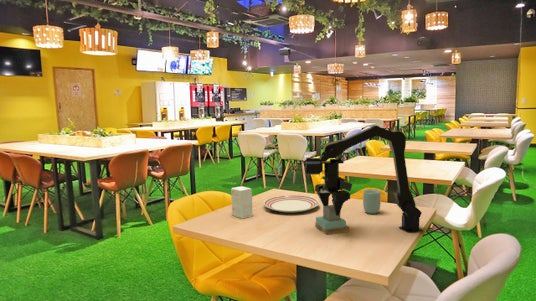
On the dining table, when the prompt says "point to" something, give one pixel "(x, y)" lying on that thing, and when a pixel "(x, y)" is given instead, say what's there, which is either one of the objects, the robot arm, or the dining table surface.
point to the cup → (371, 201)
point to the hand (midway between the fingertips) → (331, 212)
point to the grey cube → (330, 213)
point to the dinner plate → (291, 203)
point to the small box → (241, 202)
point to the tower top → (330, 223)
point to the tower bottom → (332, 230)
